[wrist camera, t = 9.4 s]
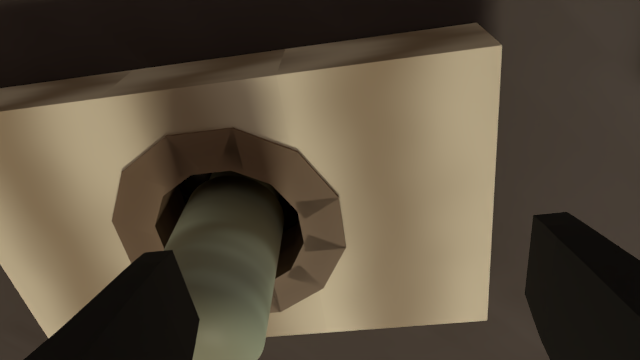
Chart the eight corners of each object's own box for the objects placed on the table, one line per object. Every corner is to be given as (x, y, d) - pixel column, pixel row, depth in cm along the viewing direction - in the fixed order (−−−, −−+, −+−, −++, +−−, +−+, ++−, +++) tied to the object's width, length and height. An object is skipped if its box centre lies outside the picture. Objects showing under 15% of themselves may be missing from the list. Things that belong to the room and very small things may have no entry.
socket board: (477, 22, 17) (503, 46, 14) (470, 273, 23) (487, 322, 20) (-33, 92, 19) (-94, 124, 16) (86, 305, 25) (56, 354, 22)
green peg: (279, 146, 20) (248, 279, 13) (295, 222, 22) (276, 373, 15) (187, 157, 20) (110, 292, 13) (212, 231, 22) (156, 381, 15)
